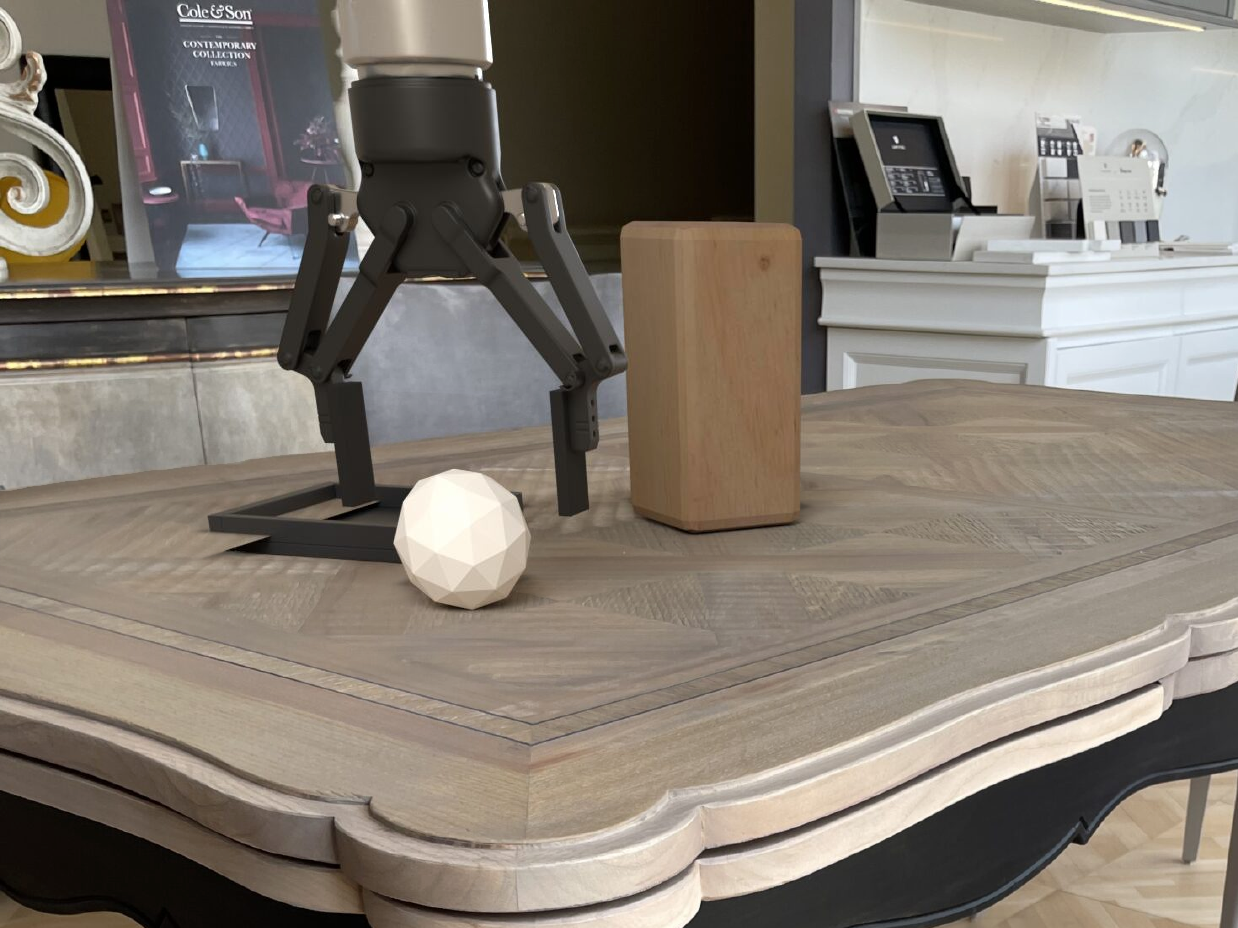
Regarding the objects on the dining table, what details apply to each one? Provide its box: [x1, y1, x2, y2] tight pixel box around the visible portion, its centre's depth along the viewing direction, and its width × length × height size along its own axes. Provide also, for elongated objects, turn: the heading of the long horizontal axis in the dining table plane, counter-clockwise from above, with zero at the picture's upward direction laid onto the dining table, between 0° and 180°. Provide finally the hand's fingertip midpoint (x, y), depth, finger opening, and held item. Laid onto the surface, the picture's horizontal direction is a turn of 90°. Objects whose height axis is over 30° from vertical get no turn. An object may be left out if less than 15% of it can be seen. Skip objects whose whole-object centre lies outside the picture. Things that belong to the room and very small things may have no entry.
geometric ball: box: [394, 468, 532, 611], centre depth 93 cm, size 8×8×8 cm
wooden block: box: [619, 220, 803, 534], centre depth 116 cm, size 10×10×20 cm
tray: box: [207, 480, 525, 564], centre depth 113 cm, size 16×16×2 cm
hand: (465, 508), depth 92 cm, fingers open, 13 cm apart
